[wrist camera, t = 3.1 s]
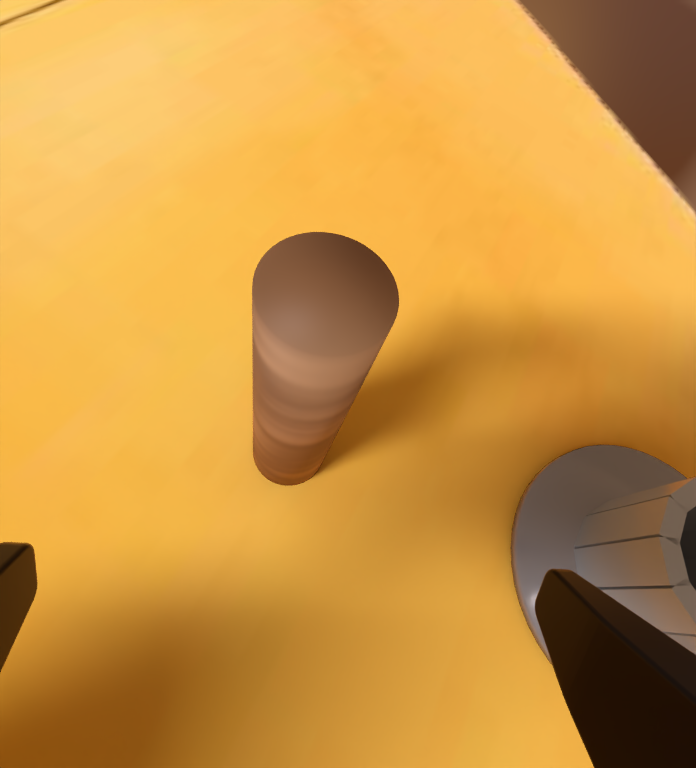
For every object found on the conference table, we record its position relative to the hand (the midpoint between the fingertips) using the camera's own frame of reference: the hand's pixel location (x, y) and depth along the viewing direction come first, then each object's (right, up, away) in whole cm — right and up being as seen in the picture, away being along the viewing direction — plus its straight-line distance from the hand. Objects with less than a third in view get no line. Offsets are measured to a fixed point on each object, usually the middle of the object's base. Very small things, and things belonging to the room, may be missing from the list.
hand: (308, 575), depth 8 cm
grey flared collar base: (+14, -5, +14) cm, 20 cm away
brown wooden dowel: (-2, 0, +13) cm, 13 cm away
